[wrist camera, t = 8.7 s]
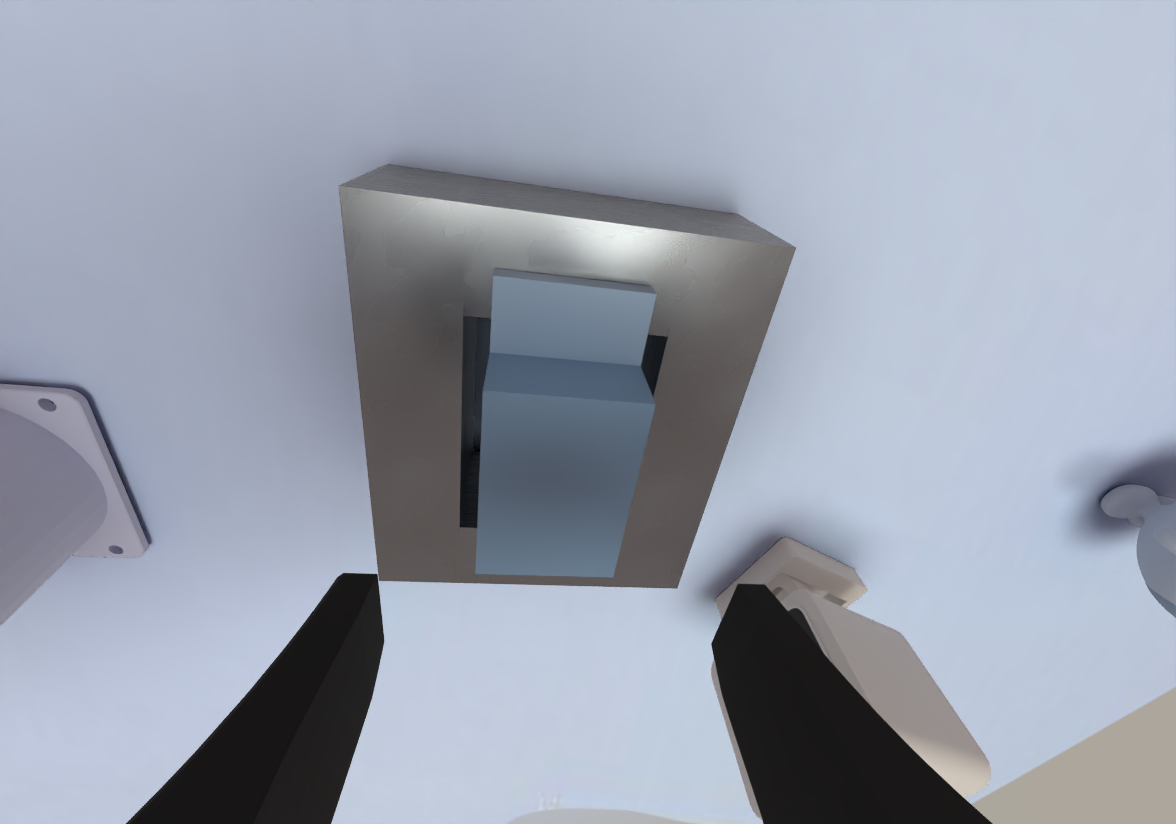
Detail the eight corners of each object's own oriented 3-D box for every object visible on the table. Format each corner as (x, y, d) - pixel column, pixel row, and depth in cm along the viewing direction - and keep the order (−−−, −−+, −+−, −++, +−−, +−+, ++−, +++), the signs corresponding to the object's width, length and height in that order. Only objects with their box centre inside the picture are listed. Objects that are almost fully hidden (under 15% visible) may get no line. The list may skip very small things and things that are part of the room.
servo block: (490, 473, 21) (473, 618, 15) (504, 229, 16) (486, 305, 10) (584, 478, 22) (602, 620, 16) (625, 244, 17) (675, 324, 11)
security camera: (768, 518, 24) (893, 746, 16) (862, 565, 27) (1015, 783, 18) (686, 597, 27) (755, 829, 18) (779, 632, 29) (878, 852, 21)
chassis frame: (405, 499, 22) (379, 580, 18) (386, 164, 15) (338, 186, 11) (654, 511, 23) (676, 588, 20) (738, 214, 16) (796, 247, 13)
